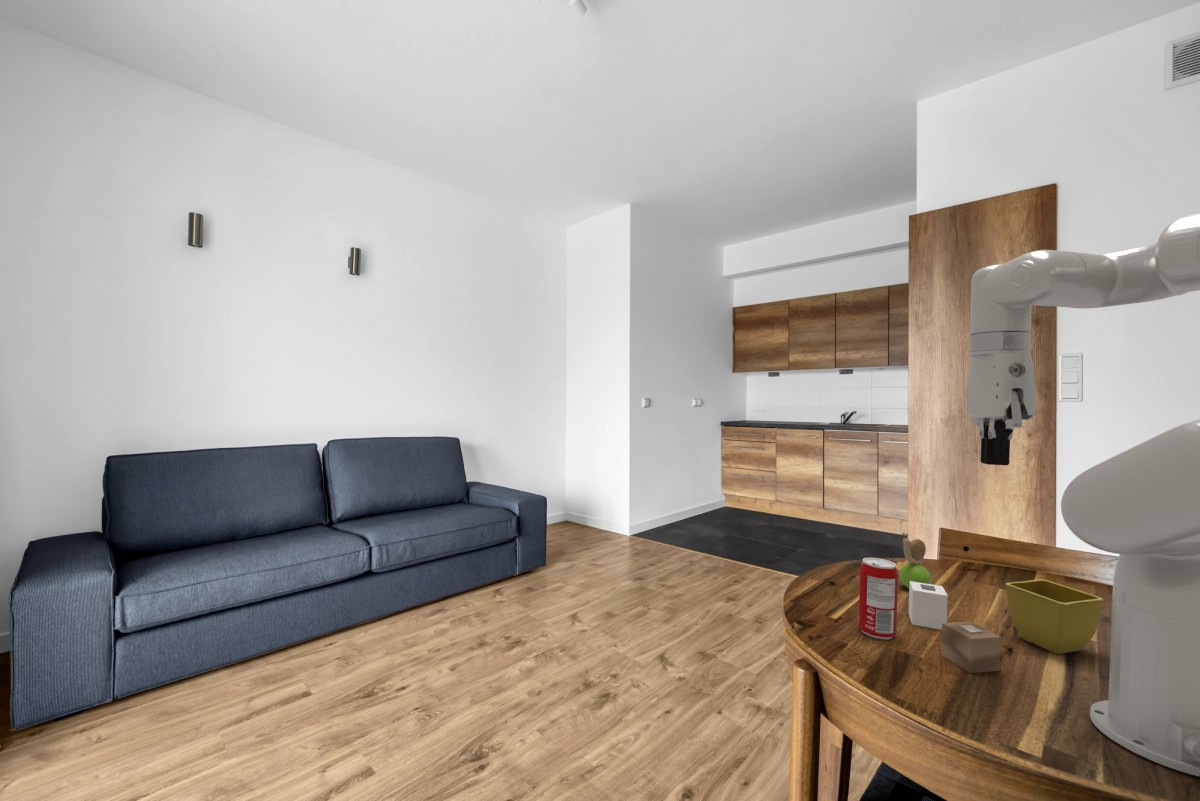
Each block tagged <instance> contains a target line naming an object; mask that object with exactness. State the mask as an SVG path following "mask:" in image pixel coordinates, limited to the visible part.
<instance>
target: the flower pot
mask: <svg viewBox="0 0 1200 801" xmlns="http://www.w3.org/2000/svg"><path fill="white" fill-rule="evenodd" d="M1005 591H1006V600H1007V606H1008V607H1007V608H1008V611H1009V616H1010V618H1011V620H1012V623H1013V625H1014V627H1015V629H1016V630H1017V632H1018V633H1019V635H1020V637H1021V638H1022V639H1023V640H1024V641H1027V642H1029V643H1031V644H1033V645H1036V646H1038V647H1040V648H1043V649H1045V650H1046V651H1049V652H1051V653H1054V654H1057V655H1060V654H1061V655H1062V654H1066V653H1068V654H1069V653H1072V652H1074V653H1075V652H1078V651H1079V652H1080V651H1081V650H1082V649H1083V648H1084V647H1085V646H1086V645H1088V643H1089V642H1090V641H1091V640H1092V639H1093V637H1094V635H1095V634H1096V632H1097V629H1098V626H1099V621H1100V617H1101V613H1102V607H1103V603H1104V598H1102V597H1099V596H1097V595H1094V594H1090V593H1087V592H1085V591H1082V590H1079V589H1075V588H1071V587H1069V586H1066V585H1062V584H1060V583H1056V582H1054V581H1050V580H1047V579H1043V578H1042V579H1041V578H1039V579H1032V580H1024V581H1014V582H1012V581H1011V582H1006V583H1005Z"/></svg>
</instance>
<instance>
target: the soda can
mask: <svg viewBox="0 0 1200 801" xmlns="http://www.w3.org/2000/svg"><path fill="white" fill-rule="evenodd" d="M898 583H899V573H898V570H897V564H896V563H895V562H893V561H891V560H888V559H884V558H881V557H880V558H879V557H864V558H862V562H861V564H860V569H859V594H858V597H859V598H858V599H859V601H858V626H857V628H859V630H860V631H861V633H863V634H865V635H866V636H867V637H870V638H874V639H878V640H887V641H888V640H891V639H893V638H894V637H895V636H896V635H897V617H898V616H897V615H898V591H899V589H898V587H899V586H898V585H899V584H898Z"/></svg>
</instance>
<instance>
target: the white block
mask: <svg viewBox="0 0 1200 801" xmlns="http://www.w3.org/2000/svg"><path fill="white" fill-rule="evenodd" d="M948 598H949V596H948V593H947V592H946V590H945V588H944V587H943V585H936V584H931V583H930V584H925V583H919V582H912V581H910V585H909V588H908V615H909V616H908V618H909V619H910V623H911V625H912V626H913V625H914V626H918V627H924V628H929V629H933V630H940V631H942V623H948Z"/></svg>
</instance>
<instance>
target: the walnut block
mask: <svg viewBox="0 0 1200 801" xmlns="http://www.w3.org/2000/svg"><path fill="white" fill-rule="evenodd" d="M940 642H941V646H940V648H941V649H940V656H941V657H943V658H945V659H946V660H948V661H949V662H951V663H953V664H954V665H956V666H958V667H959V668H962V669H963V670H965V671H966V672H968V673H969V674H973V673H975V674H977V673H986V672H988V673H989V672H999V671H1001V655H1002V654H1001V650H1002V648H1001V647H1002V636H1000V635H998V634H996V633H994V632H992V631H990V630H988V629H986V628H984V627H982V626H981V625H978V624H976V623H975V622H972V621H959V622H958V621H956V622H947V623H942V630H941V641H940Z"/></svg>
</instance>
